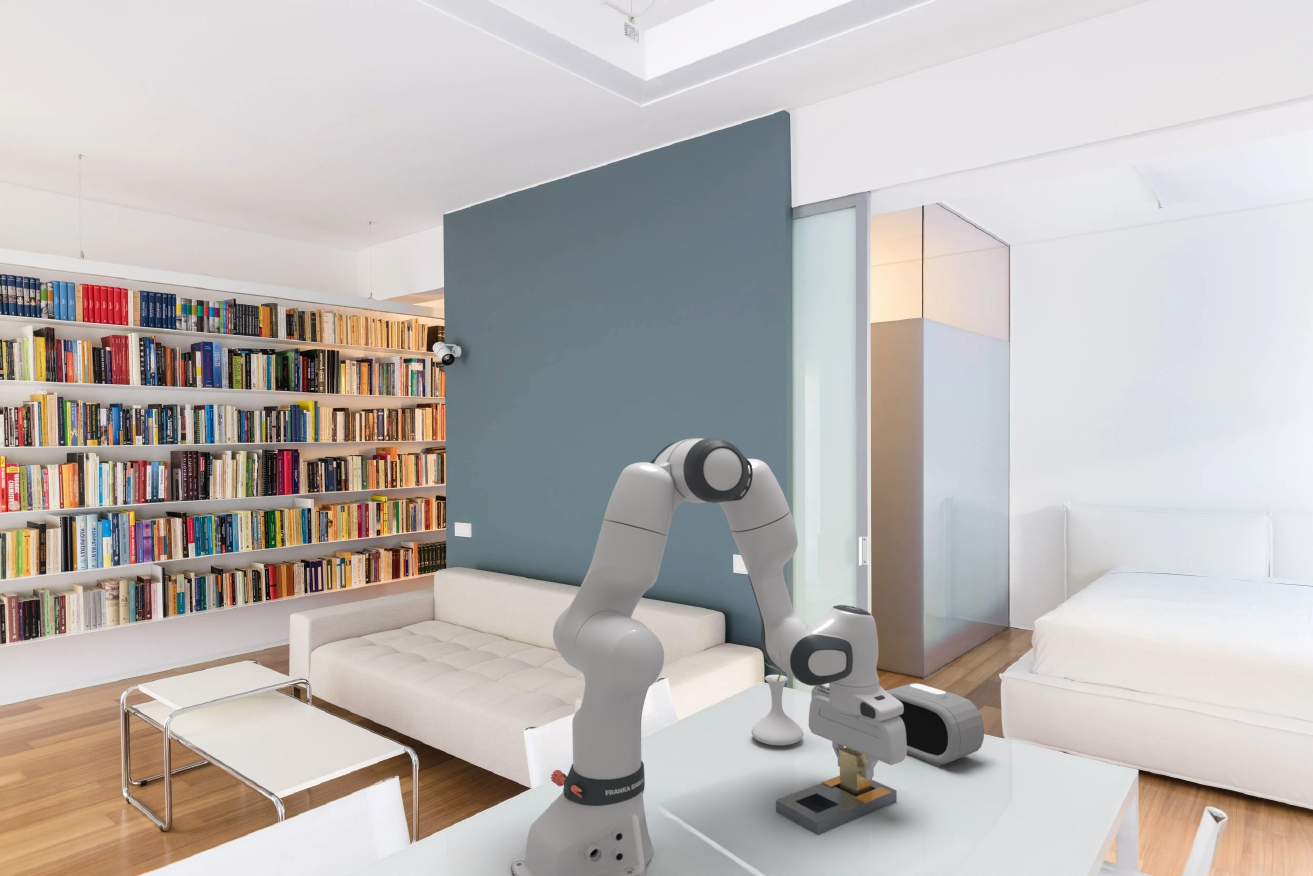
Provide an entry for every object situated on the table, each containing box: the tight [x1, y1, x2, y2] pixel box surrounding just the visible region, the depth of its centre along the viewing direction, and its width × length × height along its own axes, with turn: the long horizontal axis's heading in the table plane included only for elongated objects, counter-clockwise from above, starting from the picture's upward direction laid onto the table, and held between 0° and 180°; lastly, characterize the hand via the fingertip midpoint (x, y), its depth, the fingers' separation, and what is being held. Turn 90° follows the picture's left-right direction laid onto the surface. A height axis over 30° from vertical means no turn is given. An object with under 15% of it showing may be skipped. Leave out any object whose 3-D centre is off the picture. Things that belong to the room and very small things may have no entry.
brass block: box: [839, 746, 873, 796], centre depth 140 cm, size 4×4×7 cm
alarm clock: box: [885, 682, 985, 767], centre depth 163 cm, size 21×10×13 cm, turn 33°
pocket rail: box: [775, 775, 898, 836], centre depth 137 cm, size 20×10×3 cm, turn 124°
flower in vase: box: [751, 662, 805, 746], centre depth 171 cm, size 13×11×25 cm
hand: (855, 772), depth 140 cm, fingers closed on brass block, 4 cm apart
